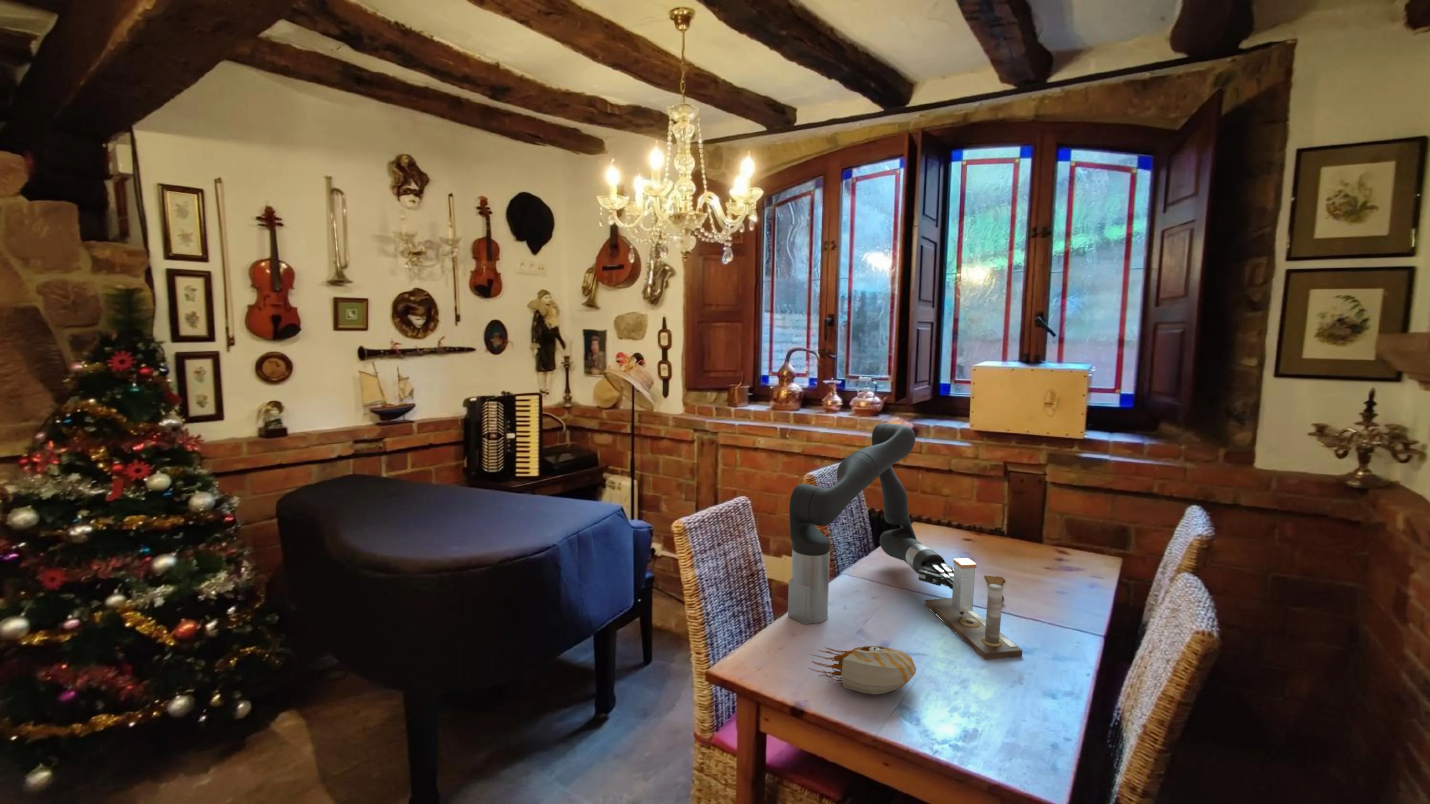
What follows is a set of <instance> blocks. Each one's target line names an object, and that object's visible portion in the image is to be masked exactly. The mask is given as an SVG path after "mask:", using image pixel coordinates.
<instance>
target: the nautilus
mask: <svg viewBox="0 0 1430 804" xmlns="http://www.w3.org/2000/svg"><path fill="white" fill-rule="evenodd" d="M825 649H827V650H825V651H823V650H819V649H817V651H818V652H821V653H826V654H830V655H834V656H833V657H826V656H821V655H817V654H811V653H810V654H809V655H810V656H814V657H819V658H822V659H825V660H830V661H832V662H836V663H833V664H829V665H828V664H826V663H819V662H817V661H814V660H811V663H813V664H814V665H817V666H821V667H824V668H829V669H832V670H833V671H832V672H831V671H825V670H821V671H820V670H817V669H812V668H810V667H808V669H809V670H811V671H815V672H817V673H823V674H821V675H819V677H828V678H830V679H831V680H833V681H835V682H836V683H839V684H842V687H843V688H845V689H847V690H852V691H855V692H858V693H862V694H868V695H869V694H870V695H881V694H886V693H890V692H893V691H895V690H898V689H900V688H903V687H904V686H905V685H907V683H908V682H909V681H910V680H911V679H913V677H915V674H916V673H917V666H916V664H915V663H914V661H913V660H914V659H913V657H912V656H911V655H909V654H907V653H906V652H904V651H902V650H899V649H895V648H891V647H886V646H882V645H881V646H880V645H870V646H868V645H864V646H859V647H854V648H853V649H851V650H838V649H833V648H831V647H830V648H829V647H825ZM835 652H836V653H835ZM837 653H838V654H837ZM835 669H836V670H835ZM824 674H825V675H824ZM828 674H830V675H828ZM839 676H840V677H839ZM835 678H836V679H835ZM827 683H830V681H828V682H827Z"/></svg>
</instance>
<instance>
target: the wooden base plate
mask: <svg viewBox="0 0 1430 804" xmlns="http://www.w3.org/2000/svg"><path fill="white" fill-rule="evenodd" d="M987 586H988V587H987V601H986V614H985V615H986V616H985V619H984V618H983V617H982V616H981V615H980V614H978V613H977V612H976V611H974V610H973V611H965V612H964V614H963V615H962V614H960V612H959V611H958V610H956V609H955V608H954V607H953V606H952V597H946V598H945V597H944V598H931V599H925V600H924V606H925V605H926V606H927V607H928V608H929V609H928V608H927V607H926V606H925V607H926V608H927V609H928V610H930V609H931V610H932V611H933V612H934V613H935V614H937V615H938V616H939V617H940V618H941V619H942V620H943V621H944V622H945V623H946V624H947V625H948V626H949V627H950V628H951V630H952V632H954V633H955V632H956V633H957V634H958V635H959V636H960V637H961V638H962V639H963V642H965V643H966V644H967V643H968V644H969V645H970V646H971V647H972V648H973V649H974V650H973V649H972V648H971V647H970V646H969V645H968V644H967V645H968V646H969V647H970V648H971V649H972V650H973V651H974V652H976V653H977V655H979V656H980V658H982V659H983V658H984V659H985V660H987V659H988V660H997V658H999V659H1007V658H1006V657H1010V658H1018V657H1017V656H1022V657H1023V649H1022V648H1021V647H1019V646H1018V645H1017V644H1016V643H1014V642H1013V640H1010V639H1009V638H1008V637H1007V636H1006V635H1004V634H1003V633H1002V632H1001V621H1002V619H1001V618H1002V605H1003V603H1002V595H1004V594H1003V591H1004V586H1003V587H1002V586H1000V585H996V584H990V585H988V584H987ZM931 610H930V611H931ZM932 611H931V612H932ZM933 612H932V613H933ZM934 613H933V614H934ZM935 614H934V615H935ZM941 619H940V620H941ZM942 620H941V621H942ZM943 621H942V622H943ZM944 622H943V623H944ZM945 623H944V624H945ZM946 624H945V625H946ZM947 625H946V626H947ZM948 626H947V627H948ZM949 627H948V628H949ZM950 628H949V629H950ZM956 633H955V634H956ZM957 634H956V635H957ZM958 635H957V636H958ZM959 636H958V637H959ZM960 637H959V638H960ZM962 639H961V640H962ZM984 659H983V660H984ZM985 660H984V661H985Z"/></svg>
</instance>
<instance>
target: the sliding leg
mask: <svg viewBox="0 0 1430 804" xmlns="http://www.w3.org/2000/svg"><path fill="white" fill-rule="evenodd" d="M953 569H954V576H953V590H952V593H951V594H952V597H951V598H952V606H953V607H954V608H955V609H956V610H958V611H959V612H960V614H962V615H963V614H964V612H965V611H974V610H973V609H974V596H975V595H974V594H975V578H976V569H977V563H975V562H974V561H973V560H971V559H970V558H968V557H966V558H965V557H963V558H953Z"/></svg>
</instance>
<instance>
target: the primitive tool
mask: <svg viewBox="0 0 1430 804" xmlns="http://www.w3.org/2000/svg"><path fill="white" fill-rule="evenodd" d="M983 578H984V580H985V581H986V583H987V586H988V585H990V584H996V585H1000V586H1002V587H1003V588H1004V586H1003V584H1004V583H1006V579H1005V578H1004V577H1002V576H1000V575H999V576H998V575H997V576H995V575H994V576H993V575H984V577H983ZM1004 601H1005V597H1004V594H1002V604H1003V603H1004Z"/></svg>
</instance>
